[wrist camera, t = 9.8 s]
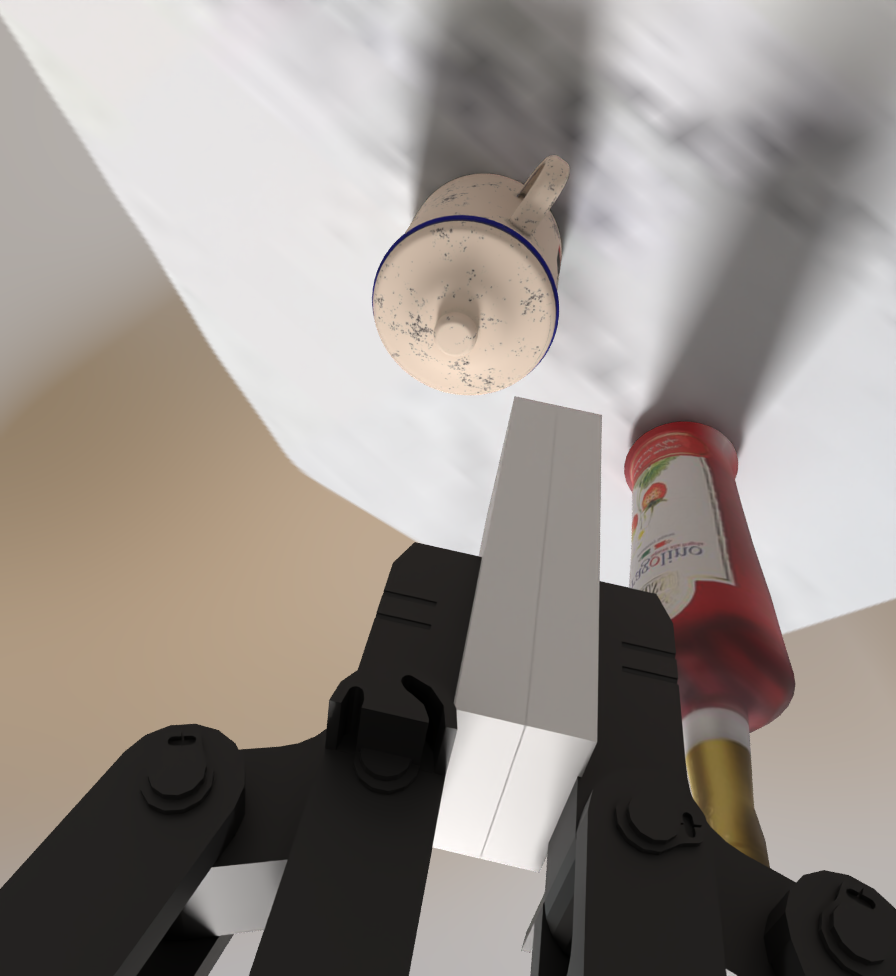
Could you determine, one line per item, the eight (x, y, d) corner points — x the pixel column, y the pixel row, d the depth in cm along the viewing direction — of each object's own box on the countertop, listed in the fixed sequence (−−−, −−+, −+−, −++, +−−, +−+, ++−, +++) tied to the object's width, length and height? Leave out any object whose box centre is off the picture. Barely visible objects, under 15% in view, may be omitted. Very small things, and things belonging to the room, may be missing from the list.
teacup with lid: (504, 352, 49) (479, 457, 39) (378, 266, 47) (321, 355, 37) (636, 188, 42) (644, 268, 32) (495, 79, 40) (461, 132, 31)
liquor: (668, 520, 54) (710, 953, 32) (596, 452, 52) (588, 866, 29) (763, 462, 50) (887, 907, 28) (690, 385, 48) (762, 803, 26)
